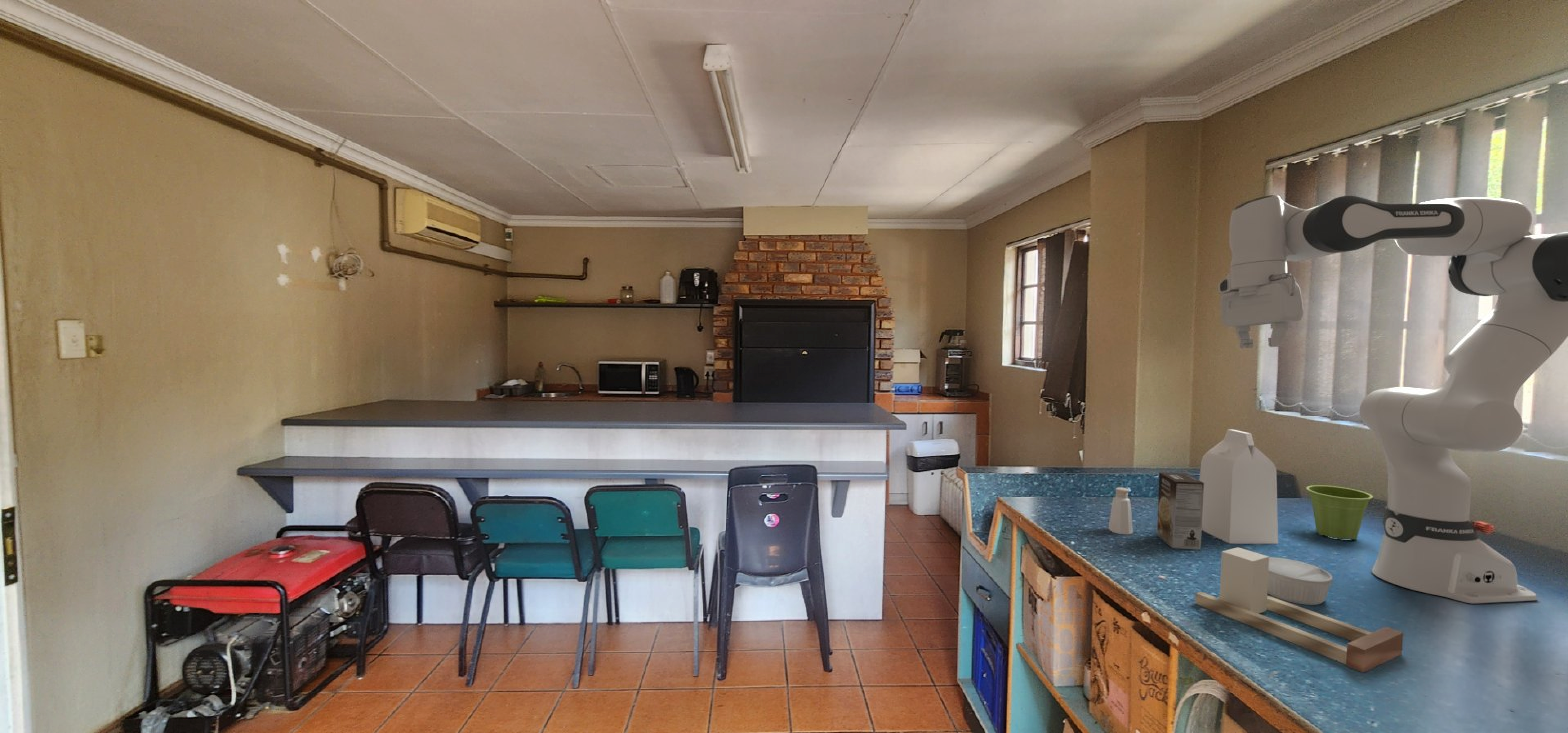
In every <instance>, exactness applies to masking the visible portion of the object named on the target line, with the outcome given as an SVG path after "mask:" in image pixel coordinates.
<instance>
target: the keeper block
mask: <svg viewBox="0 0 1568 733" xmlns="http://www.w3.org/2000/svg"><path fill="white" fill-rule="evenodd" d="M1269 557H1270V556H1268V555H1265V554H1261V553H1259V552H1255V551H1252V550H1248V549H1245V548H1241V547H1238V546H1237V547H1234V548H1230V549H1226V550H1222V551H1221V559H1220V560H1221V561H1220V562H1221V563H1220V564H1221V565H1220V582H1219V583H1220V586H1219V599H1221V600H1224V601H1227V602H1229V603H1232V604H1234V605H1237V606H1240V607H1242V608H1245V609H1247V610H1250V611H1253V612H1255V613H1258V614H1262V613H1264V612H1267V610H1268V609H1267V595H1268V593H1267V590H1268V569H1269Z"/></svg>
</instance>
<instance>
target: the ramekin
mask: <svg viewBox="0 0 1568 733" xmlns="http://www.w3.org/2000/svg"><path fill="white" fill-rule="evenodd" d="M1333 580H1334V578H1333V575H1332V574H1331V573H1330V572H1328V571H1327V570H1325V569H1323V568H1321V567H1318V566H1316V565H1314V564H1309V563H1307V562H1303V561H1300V560H1295V559H1290V558H1282V557H1273V556H1269V569H1268V590H1267V595H1268V596H1271V597H1273V598H1276V599H1279V600H1282V601H1285V602H1288V603H1292V604H1297V605H1298V604H1300V605H1305V606H1306V605H1308V606H1314V605H1315V606H1316V605H1317V606H1318V605H1320V604H1322V603H1324V602H1325V601H1326V599H1327V596H1328V593H1329V590H1330V586H1331V585H1332V584H1333V582H1334V581H1333Z"/></svg>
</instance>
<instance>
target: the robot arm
mask: <svg viewBox="0 0 1568 733" xmlns="http://www.w3.org/2000/svg"><path fill="white" fill-rule="evenodd" d="M1532 223H1533V217H1532V213H1531V211H1530V210H1529V208H1528V207H1527V206H1526V205H1525V204H1524V203H1521V202H1519V201H1516V200H1513V199H1506V198H1497V197H1496V198H1495V197H1472V196H1471V197H1451V198H1443V199H1442V198H1441V199H1434V200H1429V201H1425V202H1424V201H1423V202H1420V203H1390V204H1389V203H1383V202H1377V201H1374V200H1371V199H1368V198H1364V197H1361V196H1357V195H1343V196H1342V195H1341V196H1338V197H1335V198H1333V199H1331V200H1328V201H1326V202H1324V203H1322V204H1319V205H1317V206H1313V207H1311V208H1308V209H1304V208H1299V207H1297V206H1293V205H1291V204H1289V203H1287V202H1285V201H1284V200H1283V199H1281V197H1280V196H1279V195H1275V194H1274V195H1273V194H1270V195H1265V196H1261V197H1258V198H1254V199H1251V200H1248V201H1245V202H1242V203H1240V204H1239V205H1236V207H1235V208H1234V209H1233V210H1232V212H1231V215H1230V220H1229V230H1228V231H1229V236H1228V237H1229V240H1228V241H1229V248H1230V251H1231V261H1230V265H1229V266H1230V268H1229V269H1230V272H1229V273H1228V274H1227V276H1226V277H1225V278H1223V280H1222V281H1220V282H1219V283H1218V286H1217V290H1218V293H1219V294H1221V295H1220V296H1221V297H1220V317H1221V322H1222V324H1223V326H1224V327H1225V328H1234V330H1235V331H1234V333H1235V334H1236V336H1237V338H1238V340H1239V347H1240V349H1251V348H1253V347H1254V339H1252V338H1251V335H1250V332H1251V326H1252V327H1253V326H1262V325H1270V329H1271V330H1272V331H1271V333H1270V334H1271V335H1270V337H1268V339H1267V342H1268V346H1269V347H1270V348H1279V347H1284V344H1285V341H1284V338H1285V335H1286V333H1287V331H1288V329H1289V322H1291V323H1292V322H1299V321H1301V320H1302V318H1303V315H1304V314H1305V313H1304V304H1303V303H1304V302H1303V297H1302V296H1303V295H1302V290H1301V288H1300V285H1299V284H1298V283H1297V280H1296V277H1295V276H1293V274H1291V273H1290V272H1288V263H1287V262H1294V263H1295V262H1297V263H1298V262H1304V261H1308V260H1314V259H1317V258H1322V257H1326V256H1330V255H1335V254H1339V253H1340V254H1341V253H1345V252H1346V253H1347V252H1352V251H1357V250H1360V249H1362V248H1366V247H1367V246H1369V245H1372V244H1373V243H1376V242H1377V241H1391V240H1393V241H1395V243H1396V245H1397V247H1399V249H1400V250H1401V251H1403V252H1404V253H1405V254H1407V255H1412V256H1420V257H1450V260H1449V263H1448V278H1449V281H1450V283H1451V285H1452V286H1453V288H1454V289H1455V290H1457V291H1458V292H1460V293H1463V294H1467V295H1470V296H1471V295H1472V296H1476V297H1477V296H1479V297H1491V296H1498V297H1497V301H1496V304H1495V306H1494V308H1493V309H1492V310H1491V312H1489V313H1488V314H1487V315H1485V317H1483V319H1481V320H1480V321H1479V322H1477V324H1476V325H1475V326H1473V328H1471V330H1470V331H1469V332H1468V333H1466V334H1465V336H1463V337H1462V338H1461V339H1460V340H1459V341H1458V343H1456V344H1455V345H1454V347H1453V348H1452V349H1450V350H1449V351H1448V352H1447V353H1446V354H1445V356H1444V358H1443V365H1444V368H1445V370H1446V371H1447V373H1448V374H1449V376H1448V379H1447V380H1446V382H1445V383H1444V384H1443V385H1441V386H1440V387H1437V388H1436V389H1435V388H1434V389H1431V388H1430V389H1429V388H1419V387H1410V386H1397V387H1387V388H1380V389H1376V390H1374V391H1371V392H1370V393H1369V394H1367V395H1366V396H1365V397H1364V398H1363V399H1362V401H1361V403H1360V406H1359V416H1360V418H1361V419H1360V420H1361V421H1362V423H1363V424H1364V425H1365V426H1366V427H1367V428H1368V429H1369V430H1371V432H1372V433H1373V435H1374V436H1375V438H1376V439H1377V441H1378V444H1379V445H1380V449H1381V450H1382V454H1383V457H1384V458H1385V463H1386V467H1387V468H1386V469H1387V502H1386V504H1387V505H1386V506H1384V509H1383V514H1382V515H1383V517H1382V518H1383V519H1382V524H1383V530H1384V532H1383V536H1382V539H1381V544H1380V548H1379V552H1378V555H1377V558H1376V561H1375V563H1374V565H1373V567H1372V569H1371V573H1372V574H1373V575H1374V576H1376V578H1377V577H1378V578H1380V579H1381V580H1383V581H1386V582H1388V583H1390V584H1393V585H1397V586H1399V587H1402V588H1406V589H1409V590H1412V591H1417V592H1422V593H1425V594H1429V595H1434V596H1440V597H1443V598H1444V597H1445V598H1447V599H1448V598H1449V599H1452V600H1455V601H1459V602H1463V603H1467V604H1488V603H1506V602H1508V603H1511V602H1525V601H1526V602H1527V601H1530V602H1531V601H1537V600H1538V598H1537V594H1536V593H1535V592H1534V591H1532V590H1531V589H1529V588H1526V587H1525V586H1522V585H1520V584H1518V574H1517V570H1516V567H1515V565H1514V564H1513V562H1512V561H1511V560H1510V559H1508V558H1507V557H1505V556H1504V555H1502V553H1499V552H1498V551H1497V550H1495V549H1493V547H1491V546H1490V545H1488V544H1487V543H1485V541H1482V540H1481V539H1480V537H1479V533H1478V532H1482V533H1483V534H1486V535H1491V534H1493V532H1495V526H1494V525H1493V524H1492V523H1489V522H1485V521H1483V520H1482V521H1481V520H1477V521H1473V520H1472V519H1470V515H1471V514H1470V513H1471V501H1472V500H1471V498H1472V487H1473V486H1472V482H1471V481H1472V480H1471V479H1470V477H1469V475H1467V474H1466V473H1465V472H1464V471H1463V470H1462V469H1461V468H1460V467H1459V466H1458V465H1457V464H1456V463H1455V461H1454V460H1453V457H1452V456H1451V454H1450V451H1449V450H1455V451H1459V452H1479V453H1481V452H1482V453H1487V452H1500V451H1503V450H1505V449H1508V448H1509V447H1511V446H1512V445H1514V444H1515V443H1516V442H1517V441H1518V440H1519V438H1520V436H1521V435H1522V432H1523V425H1524V424H1523V420H1522V419H1523V418H1522V416H1521V414H1520V413H1519V411H1518V410H1517V408H1516V407H1515V400H1516V396H1517V394H1518V392H1519V390H1520V389H1521V387H1522V386H1523V385H1524V384H1525V383H1526V382H1527V381H1528V380H1529V378H1530V377H1531V376H1532V375H1533V374H1534V373H1535V372H1536V371H1537V370H1538V369H1540V367H1541V366H1542V365H1543V364H1544V363H1545V362H1546V361H1548V360H1549V358H1550V357H1551V356H1552V355H1553V354H1554V353H1555V352H1556V351H1558V349H1559V348H1560V347H1561V346H1562V345H1563V343H1564V342H1565V341H1566V340H1567V339H1568V231H1563V232H1558V233H1551V234H1548V233H1547V234H1538V235H1537V234H1535V235H1533V234H1532V232H1530V229H1531V227H1532Z"/></svg>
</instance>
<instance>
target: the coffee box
mask: <svg viewBox="0 0 1568 733" xmlns="http://www.w3.org/2000/svg"><path fill="white" fill-rule="evenodd" d="M1203 493H1204V483H1203V482H1201V481H1200V480H1199V479H1198V478H1196V477H1194V476H1193V475H1191V474H1189V473H1187V472H1162V471H1161V472H1158V494H1157V495H1158V498H1157V521H1156V522H1157V523H1156V535H1157V536H1158V538H1160V539H1161V540H1162V541H1164V542H1165V543H1166V545H1168V546H1169V547H1171V548H1172V549H1181V550H1197V551H1198V550H1201V549H1202V548H1201V546H1202V531H1203V530H1202V512H1203Z"/></svg>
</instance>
